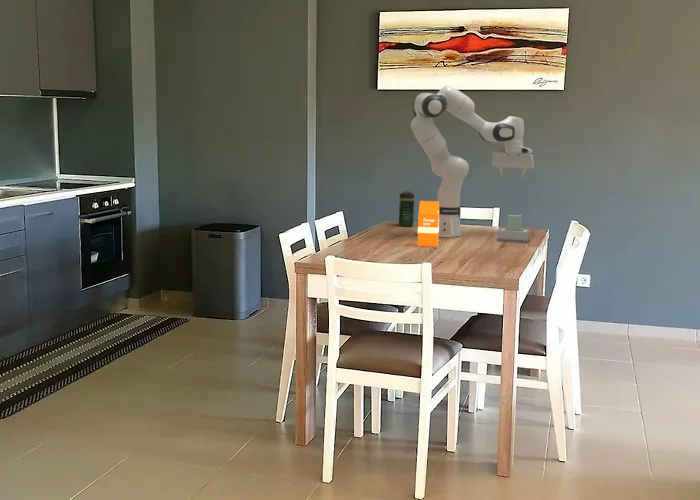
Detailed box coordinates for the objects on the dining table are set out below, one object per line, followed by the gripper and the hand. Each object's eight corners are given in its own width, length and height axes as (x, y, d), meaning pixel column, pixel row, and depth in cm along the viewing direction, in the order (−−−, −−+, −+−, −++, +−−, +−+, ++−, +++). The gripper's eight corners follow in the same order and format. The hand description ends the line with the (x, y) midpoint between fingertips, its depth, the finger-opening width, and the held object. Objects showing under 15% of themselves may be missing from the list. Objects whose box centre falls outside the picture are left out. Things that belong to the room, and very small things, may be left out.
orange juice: (436, 246, 348) (438, 202, 345) (417, 245, 350) (418, 201, 347) (438, 243, 356) (439, 200, 352) (419, 242, 358) (420, 200, 354)
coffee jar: (413, 227, 410) (414, 192, 407) (398, 226, 411) (399, 191, 408) (413, 224, 419) (414, 190, 416) (399, 224, 420) (400, 190, 417)
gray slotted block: (497, 241, 366) (497, 230, 365) (500, 238, 375) (501, 227, 374) (527, 243, 361) (527, 232, 360) (529, 240, 370) (530, 229, 369)
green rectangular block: (508, 237, 371) (509, 214, 369) (520, 238, 369) (521, 215, 367) (506, 238, 368) (507, 215, 366) (519, 239, 366) (520, 216, 364)
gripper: (491, 148, 383) (490, 176, 385) (533, 150, 376) (531, 178, 378) (493, 148, 389) (492, 175, 391) (535, 149, 382) (533, 177, 384)
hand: (512, 177), depth 385 cm, fingers open, 8 cm apart
